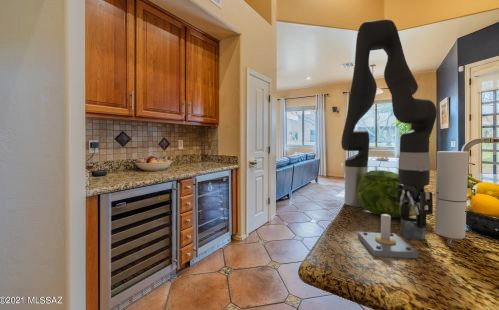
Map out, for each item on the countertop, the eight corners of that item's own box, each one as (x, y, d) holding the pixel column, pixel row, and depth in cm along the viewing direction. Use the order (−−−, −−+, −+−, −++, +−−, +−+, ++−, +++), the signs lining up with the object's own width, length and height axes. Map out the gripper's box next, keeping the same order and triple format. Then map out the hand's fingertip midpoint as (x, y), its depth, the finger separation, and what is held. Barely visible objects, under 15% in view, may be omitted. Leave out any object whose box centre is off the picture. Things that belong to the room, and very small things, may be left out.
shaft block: (358, 237, 71) (358, 208, 70) (394, 238, 69) (394, 209, 69) (374, 256, 59) (375, 222, 58) (418, 258, 58) (419, 223, 57)
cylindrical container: (456, 231, 75) (459, 151, 73) (471, 240, 68) (474, 152, 67) (430, 228, 77) (432, 151, 75) (441, 237, 70) (444, 152, 69)
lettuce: (426, 231, 76) (438, 178, 76) (349, 208, 89) (359, 163, 89) (422, 226, 90) (432, 181, 90) (356, 207, 103) (365, 168, 103)
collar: (397, 232, 74) (398, 216, 74) (417, 233, 73) (417, 217, 73) (407, 239, 68) (407, 222, 68) (428, 240, 68) (429, 223, 67)
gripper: (388, 165, 77) (388, 215, 78) (413, 170, 63) (412, 231, 64) (413, 166, 76) (412, 216, 77) (444, 170, 62) (442, 232, 63)
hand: (412, 222), depth 70 cm, fingers open, 8 cm apart
